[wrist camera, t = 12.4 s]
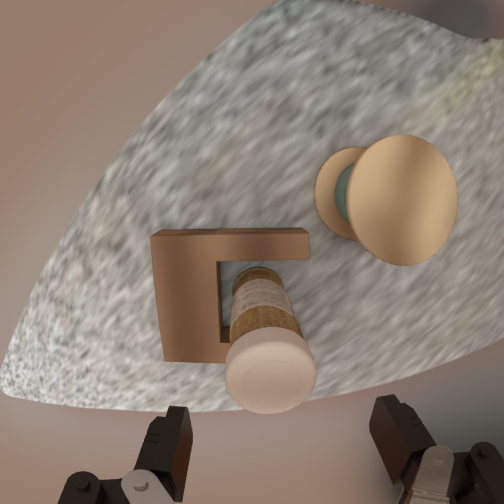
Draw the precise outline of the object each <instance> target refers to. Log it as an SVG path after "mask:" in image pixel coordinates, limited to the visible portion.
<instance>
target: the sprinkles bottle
mask: <svg viewBox="0 0 504 504" xmlns="http://www.w3.org/2000/svg"><path fill="white" fill-rule="evenodd" d="M232 295H233V301H232V310H231V324H230V349H229V351H228V353H227V357H226V362H225V384H226V389H227V391H228V393H229V395H230V396H231V398H232V399H233V400H234V401H235V402H236V403H237V404H238V405H240V406H241V407H243V408H244V409H247V410H249V411H252V412H256V413H262V414H275V413H280V412H284V411H287V410H290V409H292V408H294V407H296V406H297V405H299V404H300V403H302V402H303V401H304V400H305V399H306V398H307V397H308V396H309V395H310V393H311V392H312V390H313V388H314V386H315V383H316V378H317V370H316V365H315V362H314V359H313V357H312V354H311V351H310V349H309V347H308V345H307V343H306V342H305V341H304V340H303V339H302V337H301V335H300V332H299V328H298V325H297V323H296V320H295V317H294V313H293V310H292V307H291V305H290V302H289V300H288V297H287V295H286V293H285V291H284V286H283V283H282V281H281V279H280V278H279V277H278V275H276V274H275V273H274V272H273V271H271V270H269V269H266V268H261V267H256V268H250V269H248V270H246V271H244V272H243V273H241V274H240V275H239V276H238V278H237V279H236V280H235V283H234V286H233V290H232Z"/></svg>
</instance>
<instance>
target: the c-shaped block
mask: <svg viewBox="0 0 504 504" xmlns="http://www.w3.org/2000/svg"><path fill="white" fill-rule="evenodd" d="M150 242H151V255H152V266H153V277H154V286H155V295H156V304H157V312H158V319H159V326H160V333H161V340H162V347H163V353H164V359H165V361H167V362H193V363H225V362H226V357H227V353H228V351H229V349H230V327H222V313H221V292H220V268H219V261H266V260H309V233H308V232H307V231H305V230H304V229H303V228H236V229H189V230H160V231H158V232H157V233H155V234H153V235H152V236H150ZM298 328H299V325H298ZM299 332H300V335H301V337H302V339H303V340H304V338H303V336H302V333H301V331H300V328H299Z"/></svg>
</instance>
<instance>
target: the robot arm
mask: <svg viewBox="0 0 504 504" xmlns="http://www.w3.org/2000/svg"><path fill="white" fill-rule="evenodd" d="M369 428H370V433H371V436H372V438H373V440H374V442H375V445H376V447H377V449H378V451H379V453H380V455H381V458H382V460H383V463H384V465H385V467H386V469H387V472H388V474H389V476H390V479H391V481H392V483H393V485H398V484H401V483H403V485H404V489H403V491H402V493H401V495H400V497H399V500H398V502H397V504H448V503H450V504H504V460H503V458H502V457H501V455H500V454H499V452H498V451H497V449H496V448H495V447H494V446H493V445H492V444H490V443H488V442H479V443H476V444H475V445H474V446H473V447H472V449H471V450H470V452H460V453H452V452H451V451H450V450H449V449H448V448H446V447H443V446H437V445H436V443H435V441H434V440H433V438H432V437H431V435H430V434H429V432H428V431H427V429H426V427H425V426H424V424H422V421H421V420H420V418H418V415H417V414H416V412H415V411H414V409H413V408H411V407H410V406H409V405H407V404H406V403H402V404H401V403H400V402H399V400H398V399H397V397H396V396H395V395H394V394H391V395H386V396H381V397H377V399H376V401H375V405H374V408H373V412H372V415H371V418H370V422H369ZM192 443H193V432H192V427H191V421H190V416H189V410H188V408H187V407H179V406H169V408H168V411H167V415H166V417H159V416H158V417H156V418H155V419H154V420H153V421H152V422H151V423H150V425H149V428H148V430H147V435H146V436H145V439H144V442H143V445H142V447H141V450H140V453H139V456H138V459H137V462H136V465H135V467H134V469H133V471H130V472H128V473H127V474H126V475H125V476H124V477H123V478H120V479H111V480H99V479H98V478H97V477H96V476H95V475H94V474H92V473H90V472H85V471H82V472H76V473H74V474H72V475H71V476H70V477H69V478H68V479H67V482H66V484H65V486H64V489H63V492H62V494H61V496H60V499H59V501H58V504H175V503H174V502H182V499H183V494H184V488H185V482H186V477H187V471H188V465H189V460H190V454H191V448H192ZM477 485H478V486H477ZM478 487H479V488H478ZM479 489H480V490H481V492H482V494H483V496H484V497H483V496H482V494H481V492H480V490H479Z"/></svg>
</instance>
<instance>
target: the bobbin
mask: <svg viewBox="0 0 504 504" xmlns="http://www.w3.org/2000/svg"><path fill="white" fill-rule="evenodd" d="M314 200H315V205H316V208H317V211H318V213H319V216H320V217H321V219H322V221H323V222H324V223H325V224H326V226H327V227H329V228H330V229H331V230H332V231H333V232H335V233H336V234H338V235H340V236H342V237H344V238H347V239H350V240H356V241H359V242H360V243H361V244H362V246H363V247H364V248H365V249H366V250H367V251H369V252H370V253H371V254H373V255H374V256H376V257H377V258H379V259H381V260H383V261H384V262H387V263H389V264H392V265H397V266H410V265H415V264H419V263H421V262H423V261H425V260H427V259H429V258H430V257H432V256H433V255H434V254H435V253H437V252H438V251H439V249H440V248H441V247H442V246H443V245H444V243H445V242H446V241H447V239H448V237H449V235H450V233H451V231H452V229H453V226H454V223H455V219H456V215H457V207H458V195H457V187H456V182H455V179H454V176H453V173H452V170H451V168H450V166H449V164H448V163H447V161H446V159H445V158H444V157H443V155H442V154H441V153H440V152H439V151H438V150H437V149H436V148H435V147H434V146H433V145H431V144H430V143H428V142H427V141H425V140H423V139H421V138H418V137H415V136H411V135H395V136H391V137H388V138H384V139H381V140H379V141H377V142H375V143H373V144H372V145H370V146H369V147H368V148H363V147H353V148H348V149H344V150H341V151H339V152H337V153H335V154H334V155H332V156H331V157H330V158H328V159H327V160H326V161H325V163H324V164H323V165H322V167H321V168H320V170H319V172H318V174H317V177H316V180H315V185H314Z"/></svg>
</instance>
